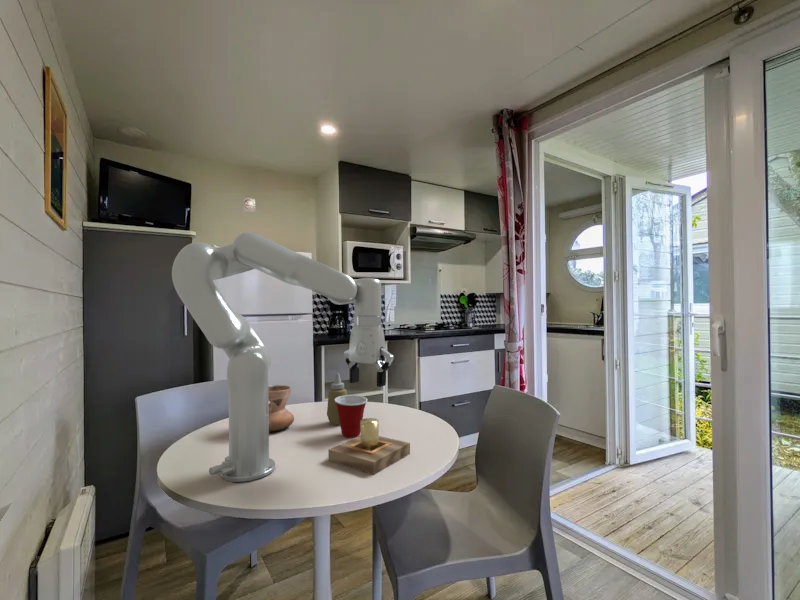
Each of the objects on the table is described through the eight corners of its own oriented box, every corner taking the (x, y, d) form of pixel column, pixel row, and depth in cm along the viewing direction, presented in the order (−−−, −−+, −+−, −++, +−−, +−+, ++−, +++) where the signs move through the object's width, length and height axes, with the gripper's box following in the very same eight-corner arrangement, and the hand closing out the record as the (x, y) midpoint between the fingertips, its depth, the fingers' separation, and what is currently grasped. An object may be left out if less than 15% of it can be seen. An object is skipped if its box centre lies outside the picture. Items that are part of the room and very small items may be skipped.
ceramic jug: (286, 436, 122) (287, 392, 123) (242, 436, 122) (242, 392, 122) (299, 421, 140) (300, 383, 141) (261, 421, 140) (261, 383, 140)
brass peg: (371, 462, 99) (370, 424, 100) (357, 458, 102) (356, 421, 103) (382, 456, 103) (382, 419, 104) (368, 452, 106) (368, 417, 107)
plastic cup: (351, 443, 114) (351, 403, 114) (327, 436, 121) (327, 399, 121) (375, 433, 123) (374, 397, 123) (351, 428, 129) (351, 393, 130)
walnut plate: (374, 474, 92) (374, 461, 92) (328, 460, 101) (328, 448, 101) (410, 453, 105) (409, 441, 105) (366, 443, 114) (366, 432, 114)
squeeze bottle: (354, 422, 136) (353, 372, 137) (339, 428, 129) (338, 376, 130) (337, 419, 140) (336, 371, 141) (322, 424, 133) (321, 374, 134)
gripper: (336, 322, 106) (335, 382, 105) (384, 323, 96) (383, 390, 95) (353, 321, 112) (353, 379, 111) (400, 322, 102) (400, 385, 101)
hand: (367, 384), depth 103 cm, fingers open, 9 cm apart
